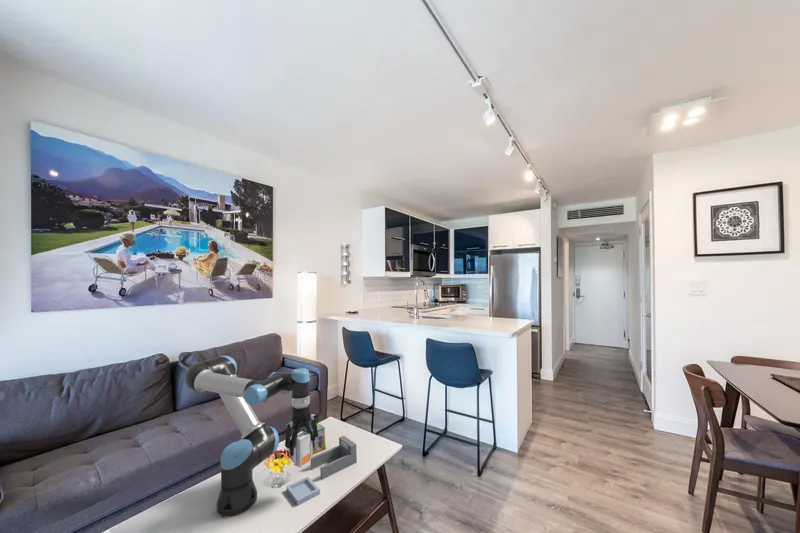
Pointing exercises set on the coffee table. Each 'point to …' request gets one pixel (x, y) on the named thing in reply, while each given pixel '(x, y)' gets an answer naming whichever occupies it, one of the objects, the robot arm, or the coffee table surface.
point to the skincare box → (303, 449)
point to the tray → (303, 490)
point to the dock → (344, 450)
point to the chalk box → (318, 438)
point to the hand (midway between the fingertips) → (302, 458)
